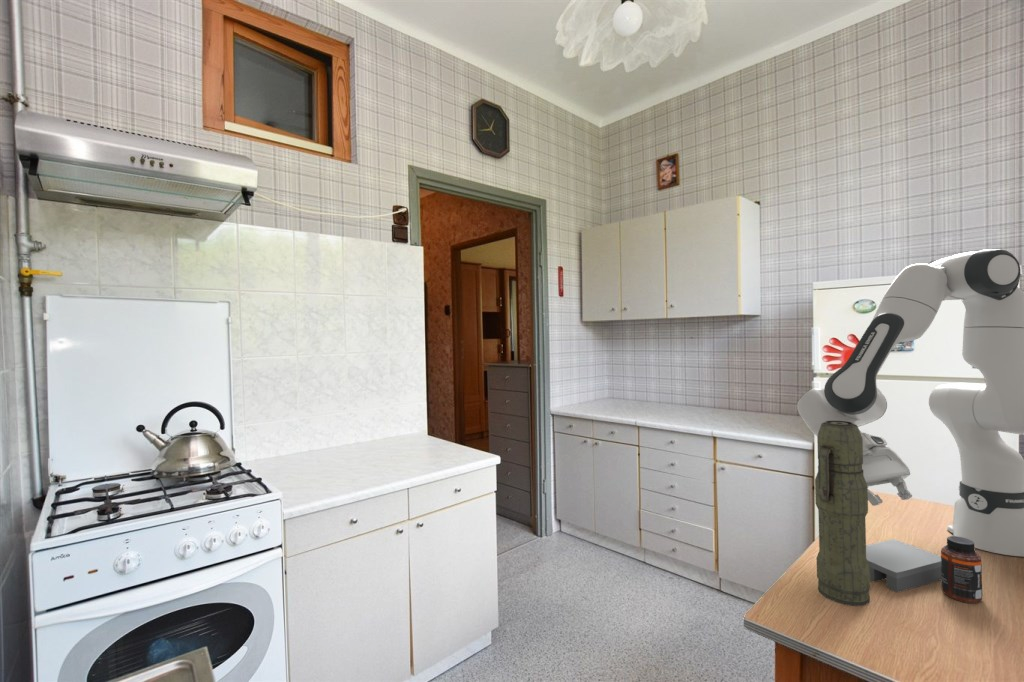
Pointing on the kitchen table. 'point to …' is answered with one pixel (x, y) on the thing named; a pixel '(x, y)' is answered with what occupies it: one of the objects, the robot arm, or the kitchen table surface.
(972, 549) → the supplement bottle
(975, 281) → the robot arm
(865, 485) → the thermos
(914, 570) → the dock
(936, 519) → the kitchen table surface
